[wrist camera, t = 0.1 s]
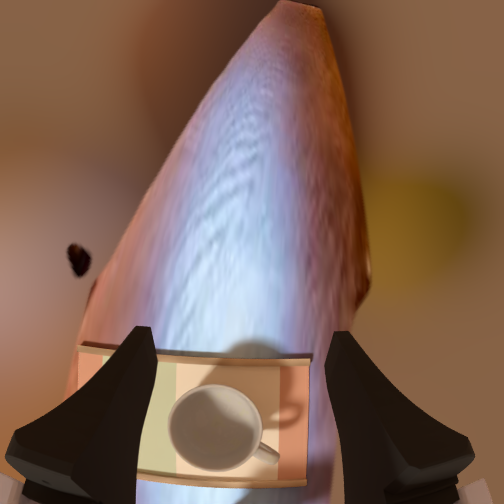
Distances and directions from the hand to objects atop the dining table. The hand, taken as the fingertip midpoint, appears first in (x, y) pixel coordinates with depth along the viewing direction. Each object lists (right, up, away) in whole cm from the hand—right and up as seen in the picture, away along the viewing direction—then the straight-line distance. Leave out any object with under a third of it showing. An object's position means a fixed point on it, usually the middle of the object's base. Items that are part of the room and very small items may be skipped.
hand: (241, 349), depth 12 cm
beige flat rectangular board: (-8, -19, +27) cm, 34 cm away
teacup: (-3, -19, +27) cm, 33 cm away
